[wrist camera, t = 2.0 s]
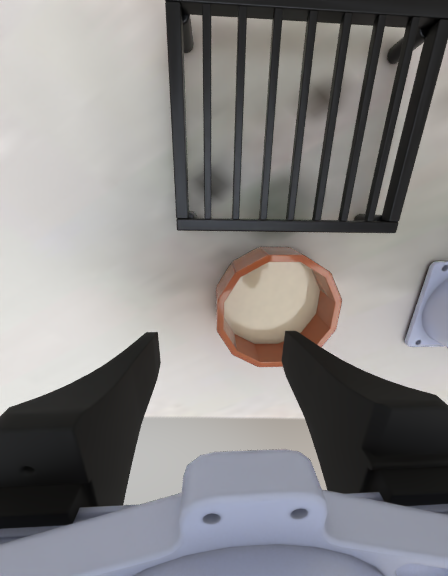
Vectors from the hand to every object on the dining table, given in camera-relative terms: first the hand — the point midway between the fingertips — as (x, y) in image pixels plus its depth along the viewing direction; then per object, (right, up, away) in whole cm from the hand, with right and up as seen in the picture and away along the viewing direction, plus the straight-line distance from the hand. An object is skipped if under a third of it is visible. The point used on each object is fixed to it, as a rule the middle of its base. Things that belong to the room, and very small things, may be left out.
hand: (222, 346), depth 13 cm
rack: (+4, +13, +3) cm, 14 cm away
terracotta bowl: (+4, +2, +6) cm, 8 cm away
